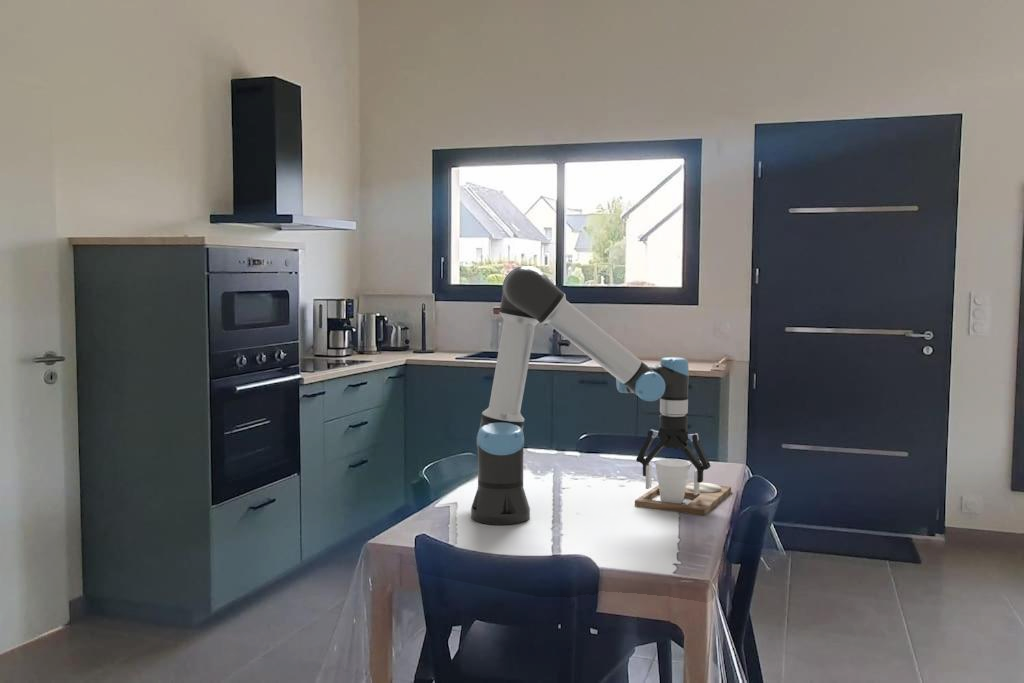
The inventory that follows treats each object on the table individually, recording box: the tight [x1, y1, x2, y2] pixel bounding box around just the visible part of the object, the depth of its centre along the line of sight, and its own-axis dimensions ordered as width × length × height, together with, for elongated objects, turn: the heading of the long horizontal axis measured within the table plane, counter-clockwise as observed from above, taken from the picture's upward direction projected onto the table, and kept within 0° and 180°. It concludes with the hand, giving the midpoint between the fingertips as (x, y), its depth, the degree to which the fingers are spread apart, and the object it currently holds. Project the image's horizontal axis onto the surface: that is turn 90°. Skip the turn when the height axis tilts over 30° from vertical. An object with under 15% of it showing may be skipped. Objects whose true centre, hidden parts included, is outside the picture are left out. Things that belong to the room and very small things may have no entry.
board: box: [634, 481, 732, 516], centre depth 244 cm, size 28×19×2 cm
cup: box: [654, 458, 692, 504], centre depth 240 cm, size 10×10×11 cm
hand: (672, 491), depth 240 cm, fingers open, 13 cm apart
